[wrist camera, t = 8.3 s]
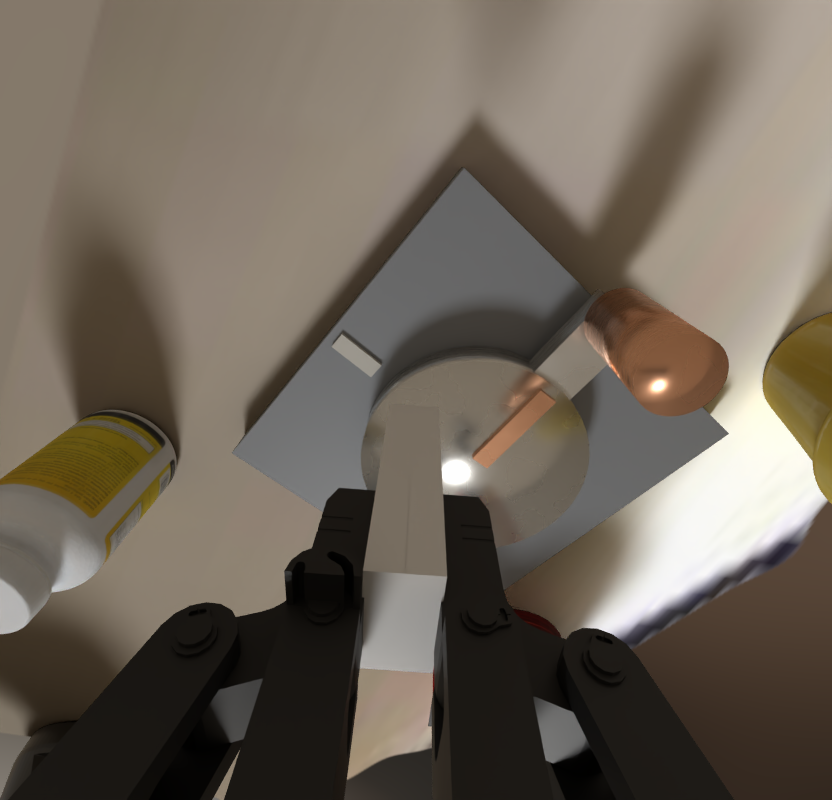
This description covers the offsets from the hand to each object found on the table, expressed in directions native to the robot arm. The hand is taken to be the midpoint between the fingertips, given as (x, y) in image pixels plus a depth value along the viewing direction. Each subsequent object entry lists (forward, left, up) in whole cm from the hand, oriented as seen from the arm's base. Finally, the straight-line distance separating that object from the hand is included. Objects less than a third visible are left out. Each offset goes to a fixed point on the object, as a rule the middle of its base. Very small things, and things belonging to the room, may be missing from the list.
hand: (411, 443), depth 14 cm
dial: (0, -6, -10) cm, 12 cm away
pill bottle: (-19, +9, -12) cm, 24 cm away
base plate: (-3, -6, -12) cm, 14 cm away
